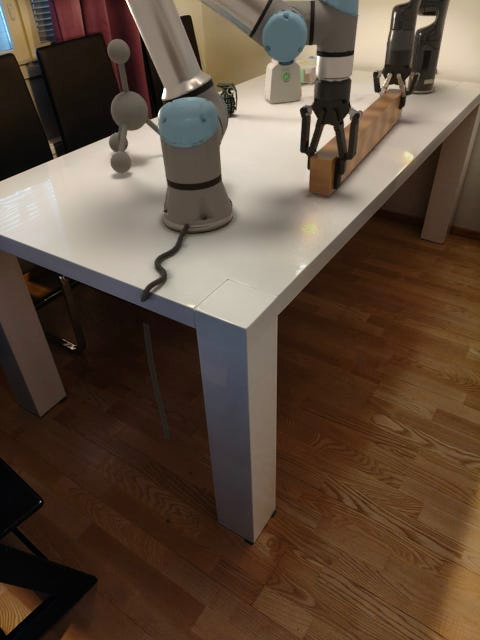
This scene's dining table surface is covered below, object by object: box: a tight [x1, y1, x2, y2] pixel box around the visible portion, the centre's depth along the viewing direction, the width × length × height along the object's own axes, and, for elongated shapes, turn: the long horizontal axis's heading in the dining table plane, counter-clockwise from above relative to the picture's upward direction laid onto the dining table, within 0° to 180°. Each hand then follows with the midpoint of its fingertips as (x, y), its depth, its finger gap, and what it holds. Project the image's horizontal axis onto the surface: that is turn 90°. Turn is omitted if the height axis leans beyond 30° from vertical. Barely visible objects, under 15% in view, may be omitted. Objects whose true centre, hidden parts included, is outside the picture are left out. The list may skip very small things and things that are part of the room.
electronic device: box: [263, 57, 303, 104], centre depth 173 cm, size 12×8×30 cm, turn 105°
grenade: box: [215, 82, 238, 117], centre depth 166 cm, size 7×6×10 cm
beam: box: [308, 88, 403, 197], centre depth 132 cm, size 66×5×8 cm, turn 152°
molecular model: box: [107, 38, 159, 174], centre depth 130 cm, size 24×22×30 cm
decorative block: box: [295, 55, 317, 85], centre depth 207 cm, size 26×6×20 cm
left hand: (325, 185), depth 114 cm, fingers closed on beam, 5 cm apart
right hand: (391, 107), depth 152 cm, fingers closed on beam, 5 cm apart
